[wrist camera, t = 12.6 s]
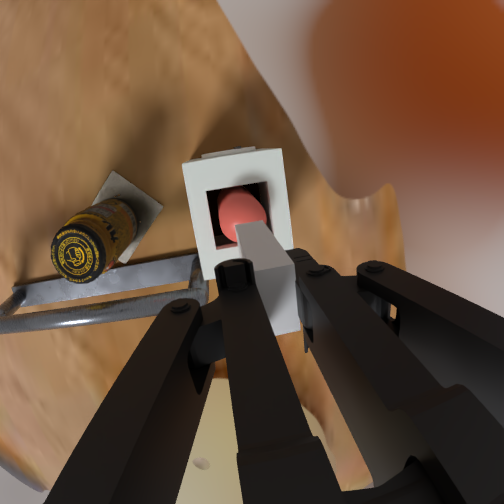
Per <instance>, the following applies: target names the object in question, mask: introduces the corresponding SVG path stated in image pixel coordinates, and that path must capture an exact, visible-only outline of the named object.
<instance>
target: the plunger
mask: <svg viewBox="0 0 504 504" xmlns="http://www.w3.org/2000/svg"><path fill="white" fill-rule="evenodd" d="M217 205H218V213H219V221H220V226H221V229H222V231H223V233H224V234H225V236H226V237H228V238H229V239H230V240H232V241H234V242H237V237H236V231H235V225H237V224H243V223H249V222H255V221H260V220H263V221H264V223H265V224H266V220H267V219H266V213H265V210H264V208H263V207H262V205H261V204H260V203H259V202H258V201H257V200H256V199H255V198H254V196H253V195H252V194H251V193H250V192H249V191H248V190H247V189H246V188H245V187H243V186H241V185H239V186H232V187H226V188H224V189H222V191H221V192H220V193H219V195H218V199H217Z"/></svg>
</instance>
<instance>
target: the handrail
mask: <svg viewBox="0 0 504 504" xmlns="http://www.w3.org/2000/svg"><path fill="white" fill-rule="evenodd" d="M187 280H189V286H188V289H182V290H176V291H170V292H164V293H158V294H152V295H146V296H139V297H133V298H127V299H120V300H114V301H108V302H101V303H94V304H88V305H81V306H74V307H68V308H61V309H54V310H47V311H39V312H32V313H25V314H17V315H13V314H14V313H15V312H16V311H17V310H18V309H19V308H20V307H26V306H32V305H39V304H45V303H52V302H59V301H65V300H71V299H78V298H84V297H90V296H97V295H103V294H109V293H115V292H122V291H128V290H134V289H140V288H146V287H152V286H158V285H164V284H170V283H175V282H181V281H187ZM12 290H13V294H12V295H11V296H10V297H9V298H8V299H7V300H6V301H5V302H3V303H2V304H1V305H0V334H10V333H21V332H31V331H41V330H50V329H59V328H68V327H76V326H84V325H92V324H100V323H108V322H115V321H122V320H129V319H137V318H143V317H150V316H157V315H158V314H159V312H160V311H161V309H162V308H163V307H164V306H165V305H166V304H168V303H170V302H171V301H173V300H176V299H179V298H182V299H183V298H193V299H196V300H198V302H199V303H200V306H203V305H206V304H207V303H208V301H209V280H204V277H203V272H202V268H201V263H200V258H199V253H198V252H196V253H190V254H184V255H179V256H173V257H168V258H162V259H157V260H151V261H146V262H140V263H135V264H129V265H124V266H118V267H113V268H110V269H109V270H108V271H107V272H105V273H104V274H102V275H100V276H99V277H98V278H97V279H96V280H94V281H92V282H89V283H87V284H86V283H85V284H76V283H73V282H69V281H68V280H66V279H65V278H64V277H59V278H54V279H48V280H43V281H38V282H33V283H27V284H22V285H17V286H13V287H12Z"/></svg>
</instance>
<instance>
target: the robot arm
mask: <svg viewBox="0 0 504 504" xmlns="http://www.w3.org/2000/svg"><path fill="white" fill-rule="evenodd" d="M235 231H236V237H237V243H238V249H239V256H240V258H236V259H230V260H226V261H223V262H221V263H219V264H217V265H216V266H215V268H214V272H215V277H216V282H217V287H218V292H219V296H218V298H216V299H215V300H214V301H212V302H211V303H208V304H206V305H203V306H200V303H199V302H198V300H196V299H193V298H183V299H182V298H179V299H176V300H173V301H171V302H170V303H168V304H166V305H165V306H164V307H163V308H162V309H161V311H160V312H159V314H158V315H157V317H156V318H155V320H154V321H153V323H152V325H151V326H150V328H149V329H148V331H147V332H146V334H145V335H144V337H143V338H142V340H141V341H140V343H139V345H138V346H137V348H136V349H135V351H134V352H133V354H132V355H131V357H130V359H129V360H128V362H127V363H126V365H125V366H124V368H123V370H122V371H121V373H120V374H119V376H118V378H117V379H116V381H115V382H114V384H113V386H112V387H111V389H110V390H109V392H108V394H107V395H106V397H105V399H104V400H103V402H102V403H101V405H100V407H99V408H98V410H97V412H96V413H95V415H94V417H93V418H92V420H91V422H90V423H89V425H88V427H87V428H86V430H85V432H84V433H83V435H82V437H81V438H80V440H79V442H78V444H77V445H76V447H75V449H74V450H73V452H72V454H71V456H70V457H69V459H68V461H67V463H66V464H65V466H64V468H63V470H62V471H61V473H60V475H59V477H58V478H57V480H56V482H55V484H54V486H53V487H52V489H51V491H50V493H49V495H48V497H47V499H46V500H45V502H44V503H43V504H175V503H176V500H177V496H178V493H179V489H180V486H181V483H182V479H183V476H184V473H185V469H186V466H187V462H188V459H189V455H190V452H191V449H192V446H193V442H194V439H195V435H196V432H197V429H198V425H199V422H200V419H201V415H202V412H203V409H204V405H205V402H206V398H207V395H208V392H209V388H210V385H211V382H212V378H213V375H214V372H215V361H218V360H220V359H223V358H225V357H226V363H227V371H228V379H229V386H230V394H231V401H232V409H233V416H234V423H235V430H236V436H237V444H238V453H237V465H238V473H239V479H240V485H241V492H242V498H243V504H504V318H503V317H501V316H499V315H497V314H495V313H493V312H491V311H489V310H487V309H485V308H483V307H481V306H479V305H477V304H474V303H472V302H470V301H468V300H466V299H464V298H462V297H460V296H458V295H456V294H454V293H451V292H449V291H447V290H445V289H443V288H441V287H438V286H436V285H434V284H432V283H430V282H428V281H426V280H423V279H421V278H419V277H417V276H415V275H412V274H410V273H408V272H406V271H404V270H401V269H399V268H397V267H395V266H392V265H390V264H388V263H385V262H380V261H376V260H373V261H368V262H365V263H362V264H360V265H358V267H357V276H340V274H339V273H338V272H337V271H336V270H335V269H334V268H332V267H330V266H328V265H319V264H318V263H317V262H316V261H315V260H314V259H313V258H312V256H310V254H309V253H308V252H307V251H306V250H303V249H300V248H296V249H290V250H284V249H283V247H282V246H281V245H280V243H279V242H278V241H277V239H276V238H275V236H274V235H273V234H272V232H271V231H270V230H269V228H268V227H267V226H266V224H265V223H264V221H263V220H260V221H255V222H249V223H243V224H237V225H235ZM391 304H392V305H394V306H395V307H396V308H397V312H396V319H393V318H392V317H390V310H391ZM299 318H300V319H299ZM300 320H301V322H302V324H303V334H304V348H305V353H307V352H308V348H310V350H311V352H312V354H313V356H314V358H315V360H316V362H317V364H318V366H319V368H320V370H321V372H322V374H323V376H324V379H325V381H326V383H327V385H328V387H329V389H330V391H331V393H332V395H333V397H334V399H335V401H336V403H337V405H338V407H339V409H340V411H341V413H342V415H343V417H344V419H345V421H346V423H347V426H348V428H349V430H350V432H351V434H352V436H353V438H354V440H355V442H356V444H357V446H358V448H359V450H360V452H361V454H362V456H363V458H364V461H365V463H366V465H367V467H368V469H369V471H370V473H371V475H372V478H373V483H374V488H369V489H360V490H352V491H343V492H342V491H341V489H340V486H339V484H338V481H337V479H336V476H335V474H334V471H333V469H332V466H331V464H330V461H329V459H328V457H327V454H326V452H325V449H324V447H323V445H322V442H321V440H320V439H319V437H318V436H315V437H314V436H313V435H312V433H311V431H310V428H309V425H308V423H307V420H306V417H305V415H304V412H303V410H302V407H301V404H300V401H299V399H298V396H297V393H296V391H295V388H294V385H293V383H292V380H291V377H290V375H289V372H288V369H287V367H286V364H285V361H284V358H283V356H282V353H281V350H280V348H279V345H278V342H277V340H276V337H275V336H276V335H281V334H285V333H290V332H295V331H299V330H300Z"/></svg>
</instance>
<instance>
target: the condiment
mask: <svg viewBox="0 0 504 504" xmlns="http://www.w3.org/2000/svg"><path fill="white" fill-rule="evenodd" d="M118 194H120V196H117V195H118ZM114 196H117V197H114ZM162 208H163V206H162V205H161V204H159V203H158V202H157V201H155V200H154V199H152V198H151V197H150V196H148V195H147V194H146V193H144V192H143V191H141V190H140V189H139V188H137V187H136V186H135V185H133V184H132V183H130V182H129V181H127V180H126V179H124V178H123V177H122V176H120V175H119V174H117V173H116V172H114V171H112V172H111V174H110V175H109V177H108V178H107V180H106V182H105V183H104V185H103V187H102V188H101V190H100V192H99V193H98V195H97V197H96V198H95V200H94V202H93V204H92V206H90V207H88V208H86V209H85V210H83V211H81V212H79V213H77V214H76V215H75V216H73V217H72V218H71V219H70V220H68V221H67V222H66V224H65V225H64V227H62V228H61V229H60V230H59V231H58V232H57V233H56V235H55V237H54V239H53V242H52V245H51V259H52V262H53V265H54V266H55V268H56V270H57V271H58V273H59V274H60V275H61V276H63V277H64V278H65V279H66V280H68V281H69V282H73V283H76V284H85V283H86V284H87V283H89V282H92V281H94V280H96V279H97V278H98V277H99V276H100V275H102V274H104V273H105V272H107V271H108V270H109V269H110V268H111V267H112V266H113V265H114V264H115V263H116V261H117V260H119V261H121V262H122V263H124V264H125V265H126V263H127V261H128V260H129V258H130V257H131V255H132V254H133V252H134V250H135V249H136V247H137V246H138V244H139V243H140V241H141V240H142V238H143V236H144V235H145V233H146V232H147V230H148V229H149V227H150V226H151V224H152V223H153V221H154V220H155V218H156V217H157V215H158V214H159V213H160V211H161V210H162ZM139 221H141V223H140V222H139Z"/></svg>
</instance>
